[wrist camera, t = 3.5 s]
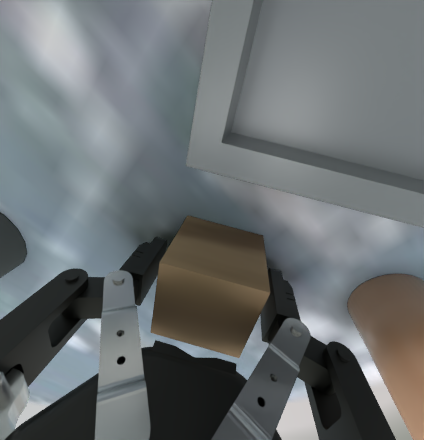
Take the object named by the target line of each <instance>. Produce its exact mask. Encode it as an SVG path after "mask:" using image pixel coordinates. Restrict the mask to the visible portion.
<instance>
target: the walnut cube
mask: <svg viewBox="0 0 424 440" xmlns="http://www.w3.org/2000/svg"><path fill="white" fill-rule="evenodd" d="M269 295H270V286H269V278H268V270H267V262H266V254H265V246H264V238H263V235H259V234H255V233H252V232H248V231H244V230H240V229H237V228H233V227H229V226H225V225H222V224H218V223H214V222H210V221H207V220H203V219H199V218H195V217H192V216H187V217H186V219H185V221H184V222H183V224H182V226H181V227H180V229H179V231H178V232H177V234H176V236H175V237H174V239H173V241H172V242H171V244H170V246H169V247H168V249H167V251H166V252H165V254H164V256H163V258H162V259H161V261H160V263H159V271H158V279H157V286H156V294H155V302H154V310H153V318H152V325H151V333H154V334H157V335H161V336H164V337H168V338H171V339H175V340H178V341H182V342H185V343H189V344H192V345H196V346H199V347H203V348H206V349H209V350H213V351H216V352H220V353H223V354H227V355H230V356H234V357H237V358H239V357H240V355H241V353H242V351H243V349H244V347H245V345H246V343H247V340H248V338H249V336H250V334H251V332H252V330H253V328H254V326H255V324H256V322H257V320H258V318H259V315H260V313H261V311H262V309H263V307H264V305H265V303H266V301H267V299H268V297H269Z"/></svg>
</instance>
